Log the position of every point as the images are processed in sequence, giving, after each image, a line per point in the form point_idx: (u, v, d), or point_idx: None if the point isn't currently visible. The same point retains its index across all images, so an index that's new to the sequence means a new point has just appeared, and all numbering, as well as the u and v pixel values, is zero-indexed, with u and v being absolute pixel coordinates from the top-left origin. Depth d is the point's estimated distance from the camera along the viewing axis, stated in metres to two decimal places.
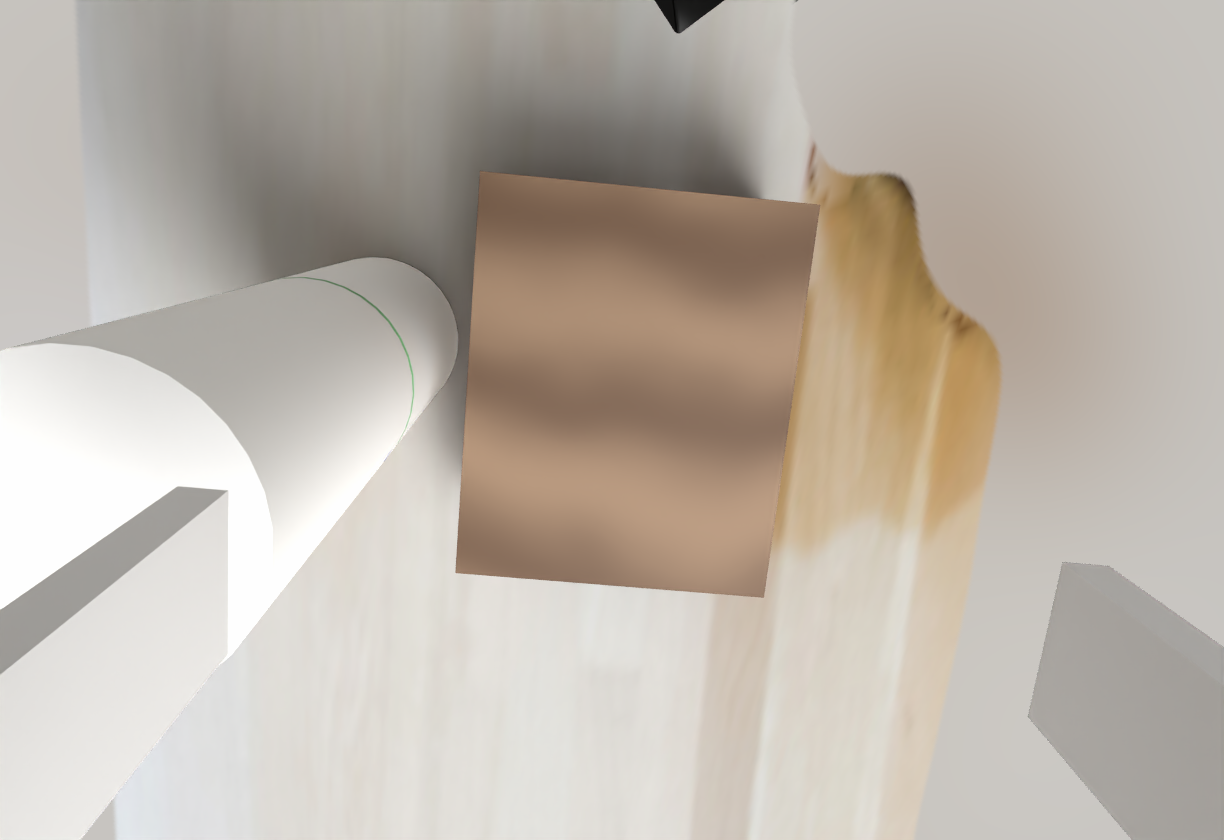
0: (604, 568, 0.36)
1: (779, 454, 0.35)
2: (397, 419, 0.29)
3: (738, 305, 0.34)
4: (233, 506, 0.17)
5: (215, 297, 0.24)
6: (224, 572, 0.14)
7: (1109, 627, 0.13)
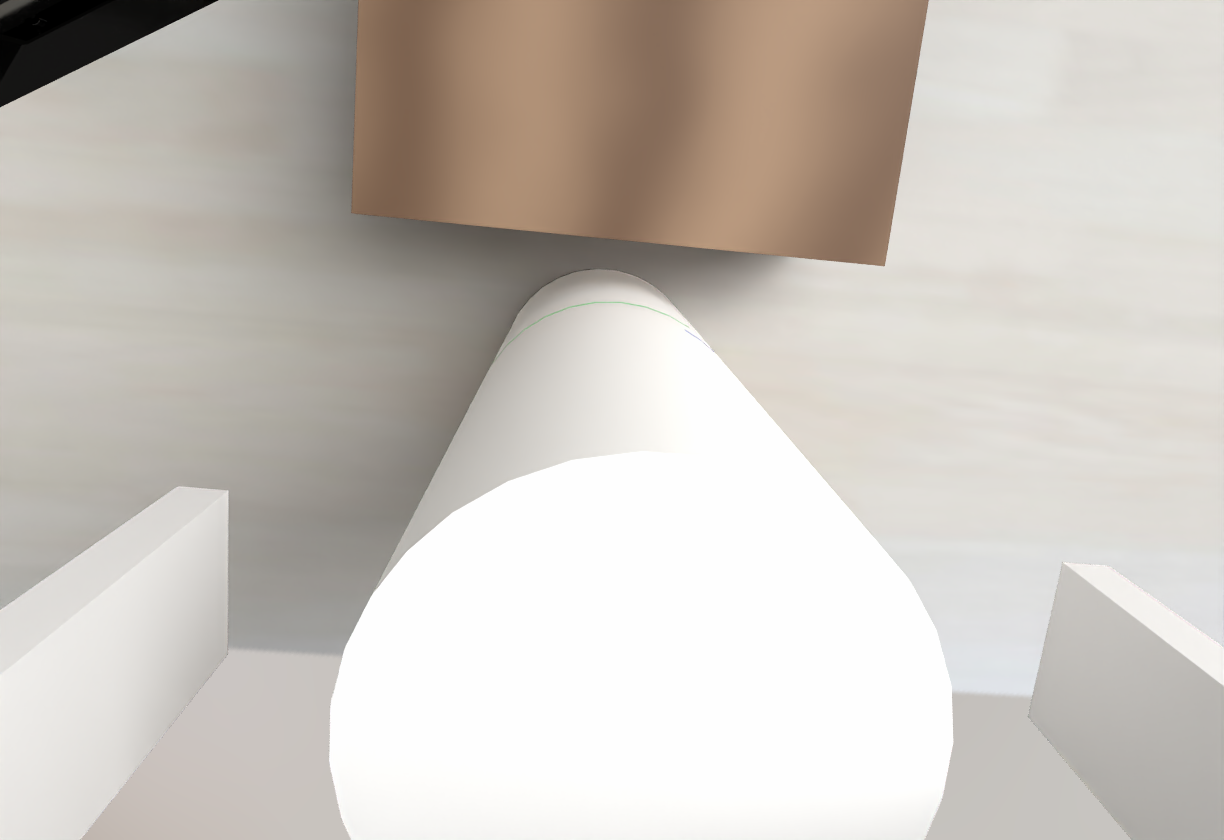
0: (895, 51, 0.25)
1: None
2: (638, 316, 0.21)
3: None
4: (600, 512, 0.10)
5: None
6: (225, 572, 0.14)
7: (1108, 627, 0.13)
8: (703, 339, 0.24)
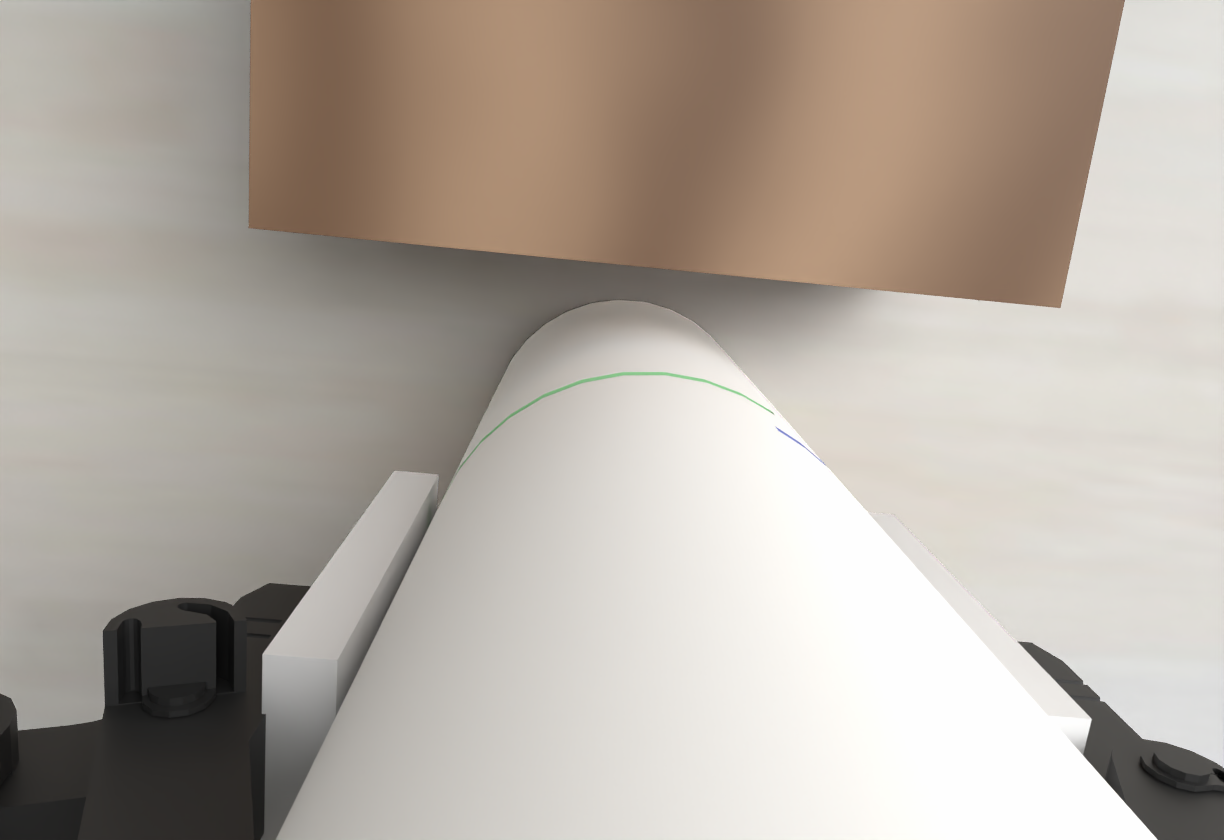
0: None
1: None
2: (701, 412, 0.12)
3: None
4: None
5: None
6: None
7: None
8: None
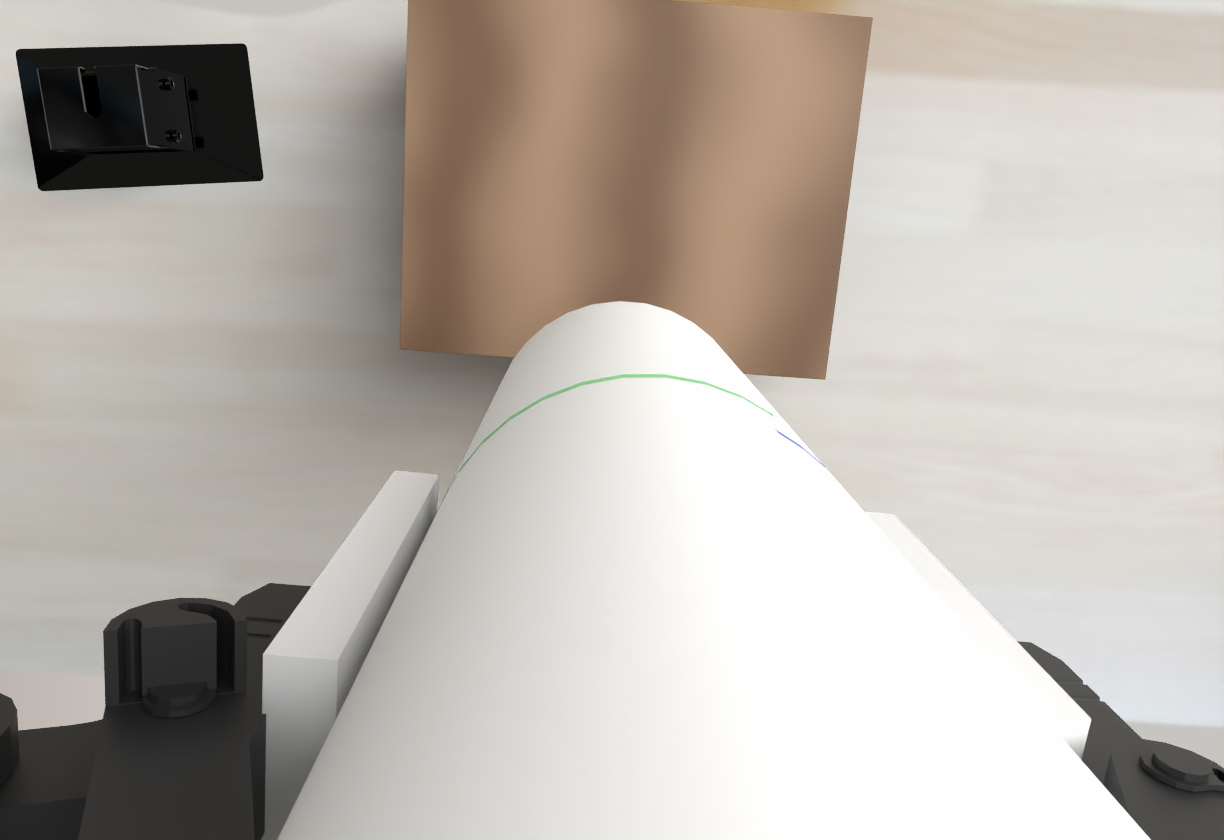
0: (827, 214, 0.32)
1: (695, 8, 0.30)
2: (700, 414, 0.12)
3: (523, 67, 0.30)
4: None
5: None
6: None
7: None
8: (795, 433, 0.15)
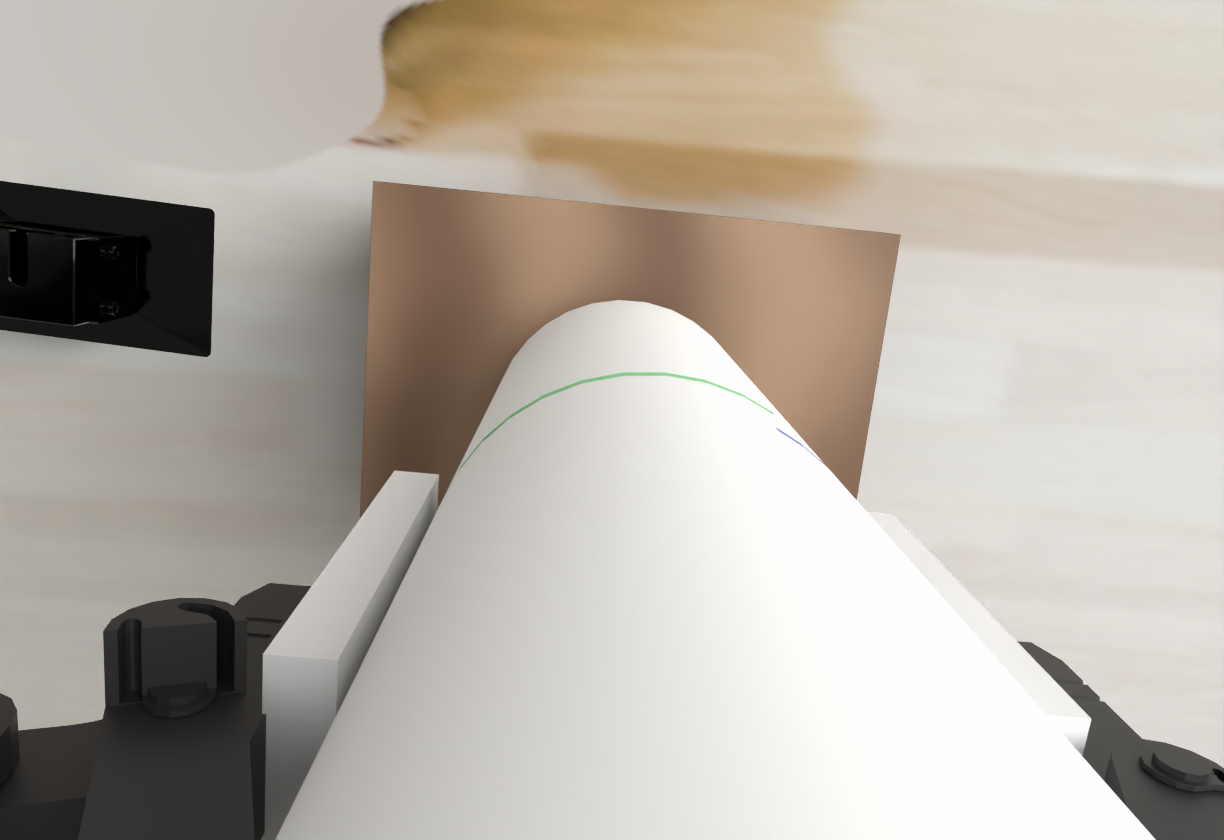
0: (843, 444, 0.28)
1: (699, 221, 0.26)
2: (701, 412, 0.12)
3: (502, 281, 0.27)
4: None
5: None
6: None
7: None
8: (795, 431, 0.15)
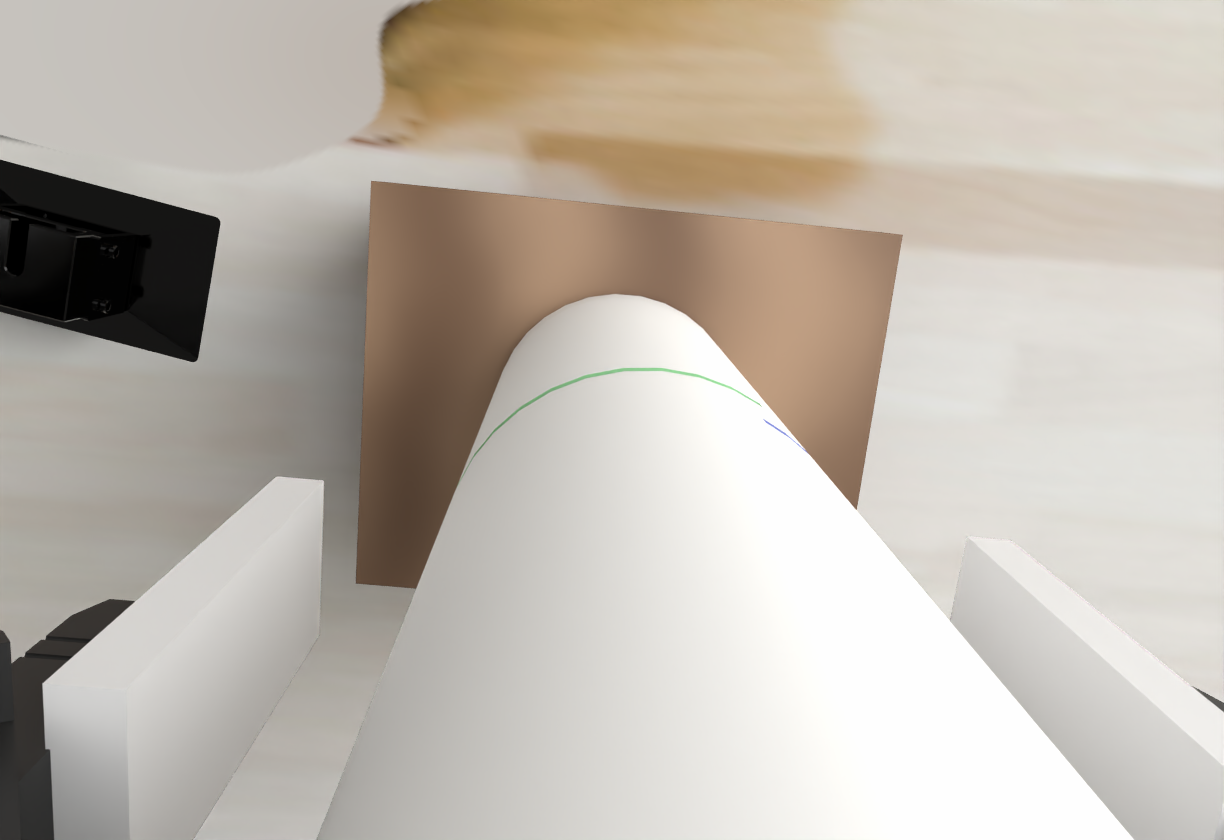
0: (844, 446, 0.28)
1: (700, 221, 0.26)
2: (696, 406, 0.14)
3: (502, 282, 0.26)
4: None
5: None
6: (318, 557, 0.15)
7: (1001, 594, 0.14)
8: None
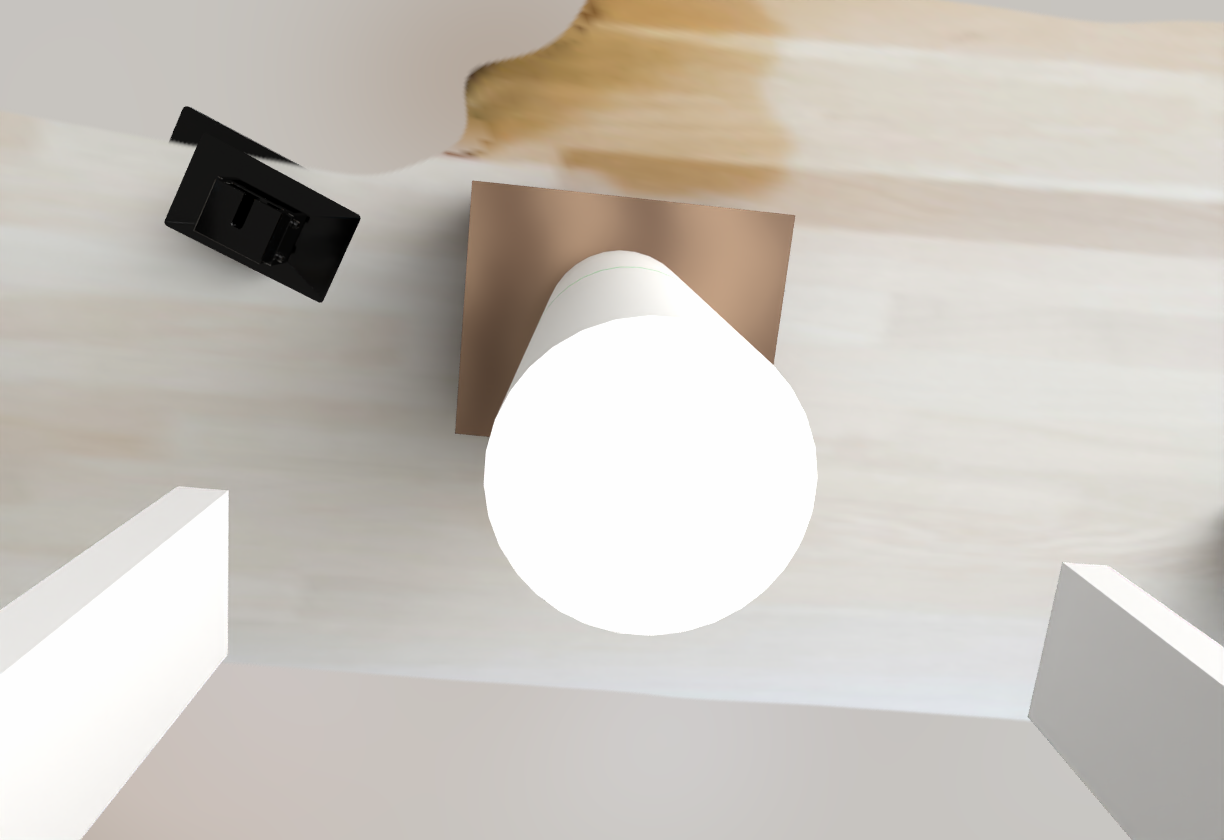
0: (761, 347, 0.45)
1: (671, 206, 0.43)
2: (650, 274, 0.30)
3: (550, 242, 0.43)
4: (629, 348, 0.19)
5: None
6: (224, 572, 0.14)
7: (1109, 627, 0.13)
8: None
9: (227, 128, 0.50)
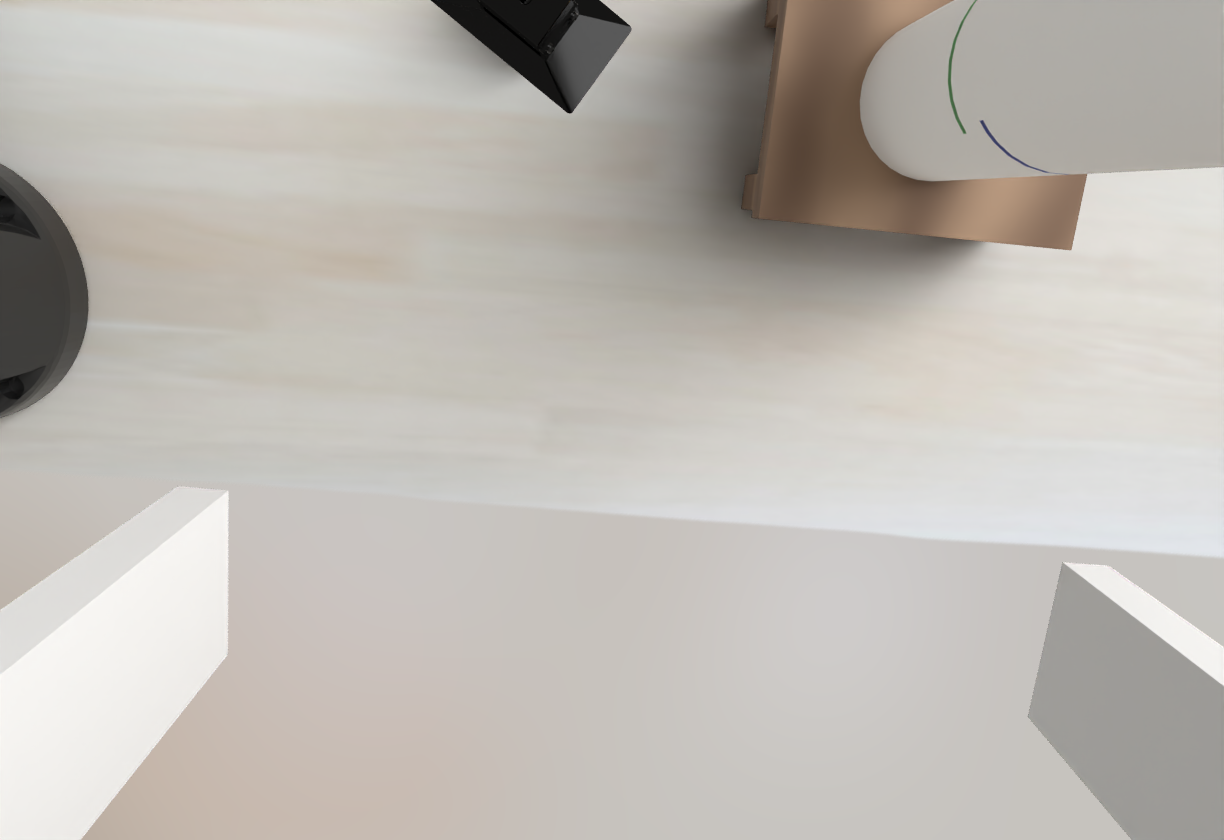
0: None
1: None
2: None
3: (871, 8, 0.41)
4: None
5: (1034, 44, 0.26)
6: (224, 572, 0.14)
7: (1108, 626, 0.13)
8: None
9: None
